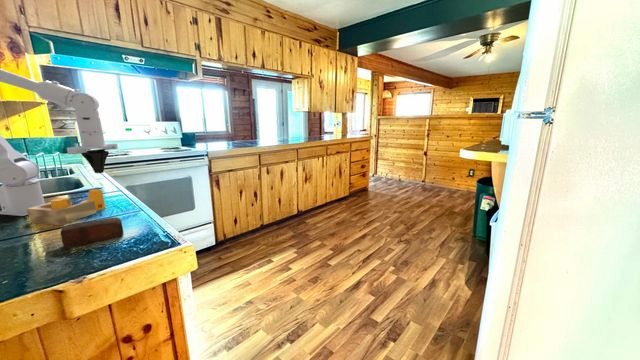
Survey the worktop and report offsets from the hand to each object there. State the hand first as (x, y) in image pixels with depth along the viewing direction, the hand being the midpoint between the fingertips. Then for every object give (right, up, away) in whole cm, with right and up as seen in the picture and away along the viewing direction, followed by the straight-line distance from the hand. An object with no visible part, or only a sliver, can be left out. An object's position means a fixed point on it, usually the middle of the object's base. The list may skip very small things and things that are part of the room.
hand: (99, 172), depth 85 cm
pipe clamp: (+2, -13, -9) cm, 16 cm away
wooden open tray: (0, -13, -11) cm, 17 cm away
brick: (+21, -17, -25) cm, 37 cm away
